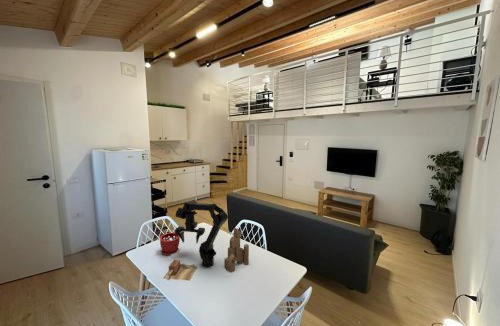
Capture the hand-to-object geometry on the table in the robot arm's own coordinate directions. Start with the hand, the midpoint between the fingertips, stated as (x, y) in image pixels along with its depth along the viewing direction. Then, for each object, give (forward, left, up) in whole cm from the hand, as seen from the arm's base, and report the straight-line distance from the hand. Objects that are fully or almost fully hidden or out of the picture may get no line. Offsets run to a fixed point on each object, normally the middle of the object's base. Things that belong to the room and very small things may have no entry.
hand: (190, 242), depth 147 cm
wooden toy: (-32, +3, -12) cm, 34 cm away
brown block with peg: (+4, +18, -11) cm, 21 cm away
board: (0, +16, -12) cm, 20 cm away
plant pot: (+18, -8, -12) cm, 23 cm away
